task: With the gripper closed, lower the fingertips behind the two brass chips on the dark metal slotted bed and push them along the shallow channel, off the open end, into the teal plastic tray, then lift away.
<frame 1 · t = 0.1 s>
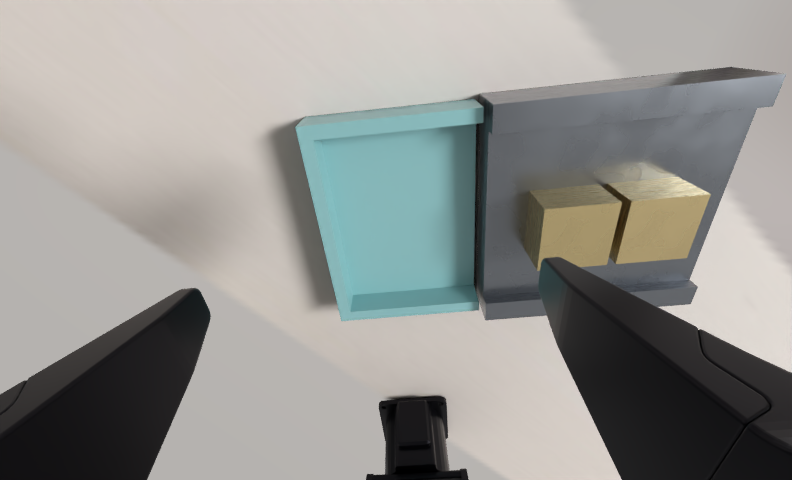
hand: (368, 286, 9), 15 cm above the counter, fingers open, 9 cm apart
chip a: (634, 211, 22), point 2 cm above the counter, touching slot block
tray: (399, 214, 25), on the counter
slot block: (582, 197, 24), on the counter
chip b: (559, 217, 22), point 2 cm above the counter, touching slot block
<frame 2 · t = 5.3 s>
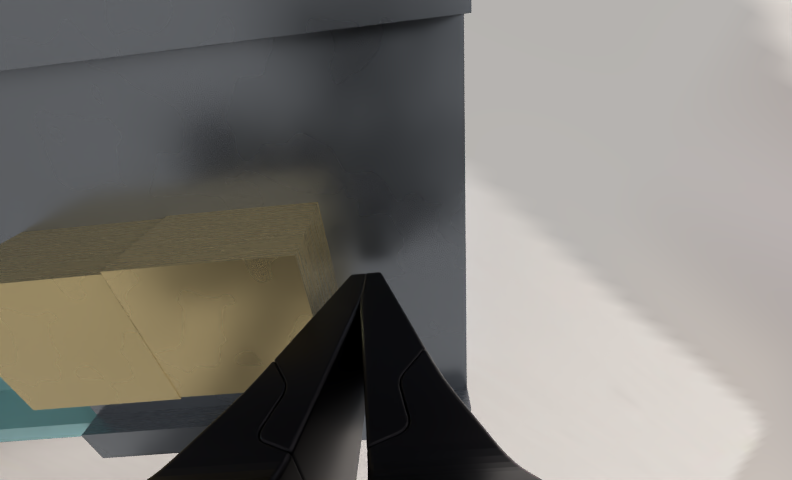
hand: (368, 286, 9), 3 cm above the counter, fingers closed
chip a: (263, 271, 10), point 2 cm above the counter, touching chip b, gripper, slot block
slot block: (251, 234, 13), on the counter
chip b: (129, 284, 11), point 3 cm above the counter, touching chip a, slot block
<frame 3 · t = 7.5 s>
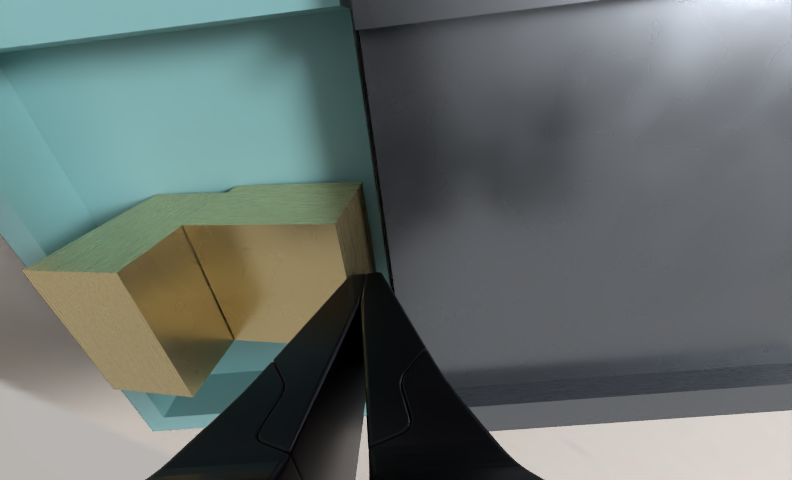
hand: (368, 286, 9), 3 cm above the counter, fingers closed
chip a: (312, 241, 12), point 1 cm above the counter, tilted 10°, touching gripper, tray
tray: (241, 236, 13), on the counter
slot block: (598, 201, 12), on the counter
chip b: (211, 288, 10), point 3 cm above the counter, tilted 101°, touching tray
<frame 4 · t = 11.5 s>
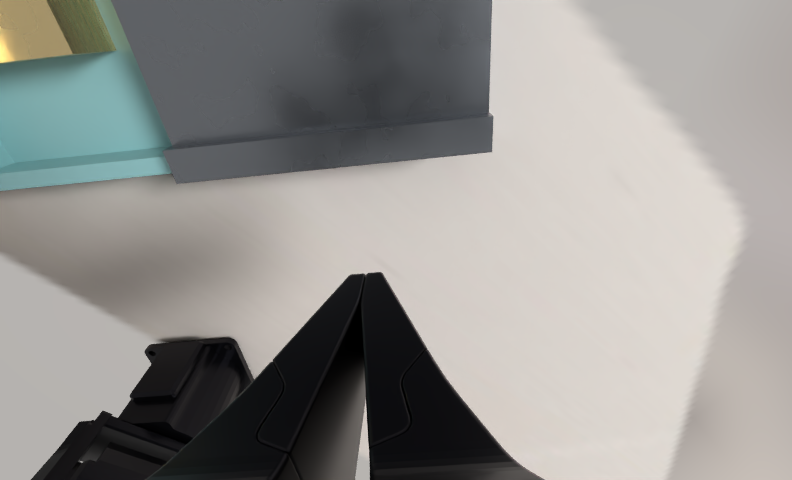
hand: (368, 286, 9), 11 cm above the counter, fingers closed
chip a: (46, 1, 15), point 1 cm above the counter, touching tray
tray: (27, 9, 15), on the counter
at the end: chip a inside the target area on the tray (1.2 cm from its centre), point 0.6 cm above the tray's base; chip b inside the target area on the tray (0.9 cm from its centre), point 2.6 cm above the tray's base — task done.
